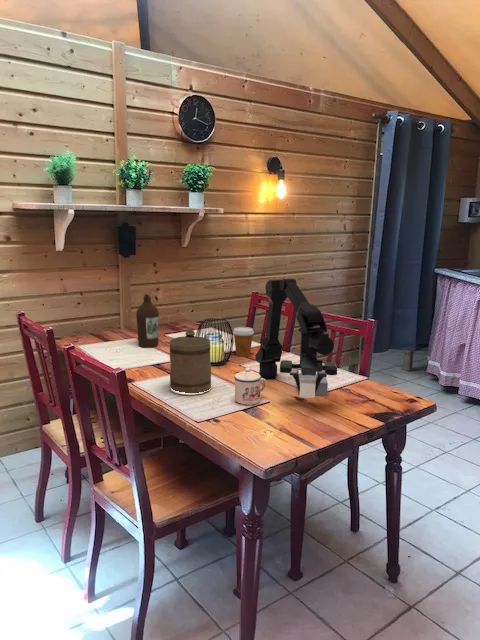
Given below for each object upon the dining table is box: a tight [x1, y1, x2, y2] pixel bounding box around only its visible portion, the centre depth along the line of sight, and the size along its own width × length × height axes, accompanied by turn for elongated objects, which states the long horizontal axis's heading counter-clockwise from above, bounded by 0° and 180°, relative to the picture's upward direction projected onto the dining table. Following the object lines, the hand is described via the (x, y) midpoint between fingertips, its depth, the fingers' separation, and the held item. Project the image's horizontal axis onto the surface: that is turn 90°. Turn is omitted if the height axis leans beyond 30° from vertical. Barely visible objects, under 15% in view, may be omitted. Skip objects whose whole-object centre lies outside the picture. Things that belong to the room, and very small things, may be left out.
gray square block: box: [297, 372, 329, 396], centre depth 181 cm, size 10×10×5 cm
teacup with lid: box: [234, 367, 267, 406], centre depth 170 cm, size 12×9×12 cm
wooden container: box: [169, 329, 212, 393], centre depth 180 cm, size 15×15×22 cm
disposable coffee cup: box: [232, 326, 255, 358], centre depth 225 cm, size 10×10×12 cm
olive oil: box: [135, 293, 160, 349], centre depth 237 cm, size 11×11×25 cm
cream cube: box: [299, 378, 316, 399], centre depth 167 cm, size 5×5×5 cm
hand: (307, 391), depth 167 cm, fingers closed on cream cube, 5 cm apart
